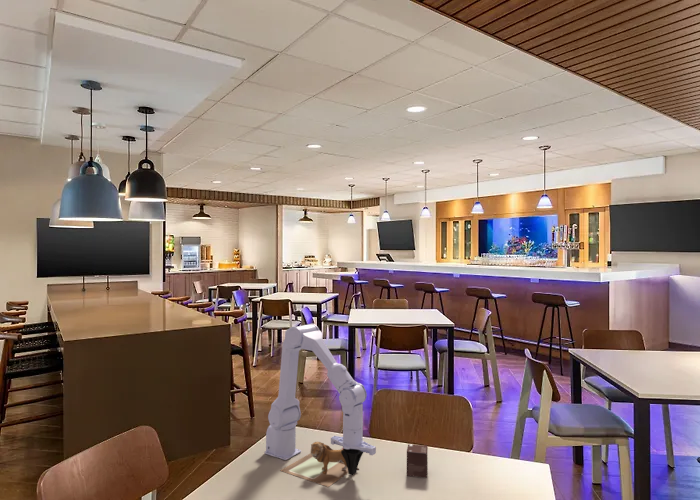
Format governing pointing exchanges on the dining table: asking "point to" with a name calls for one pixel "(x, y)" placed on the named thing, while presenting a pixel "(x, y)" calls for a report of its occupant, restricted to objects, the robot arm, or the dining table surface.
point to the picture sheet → (316, 470)
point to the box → (417, 460)
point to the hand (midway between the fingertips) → (352, 473)
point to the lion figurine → (326, 455)
